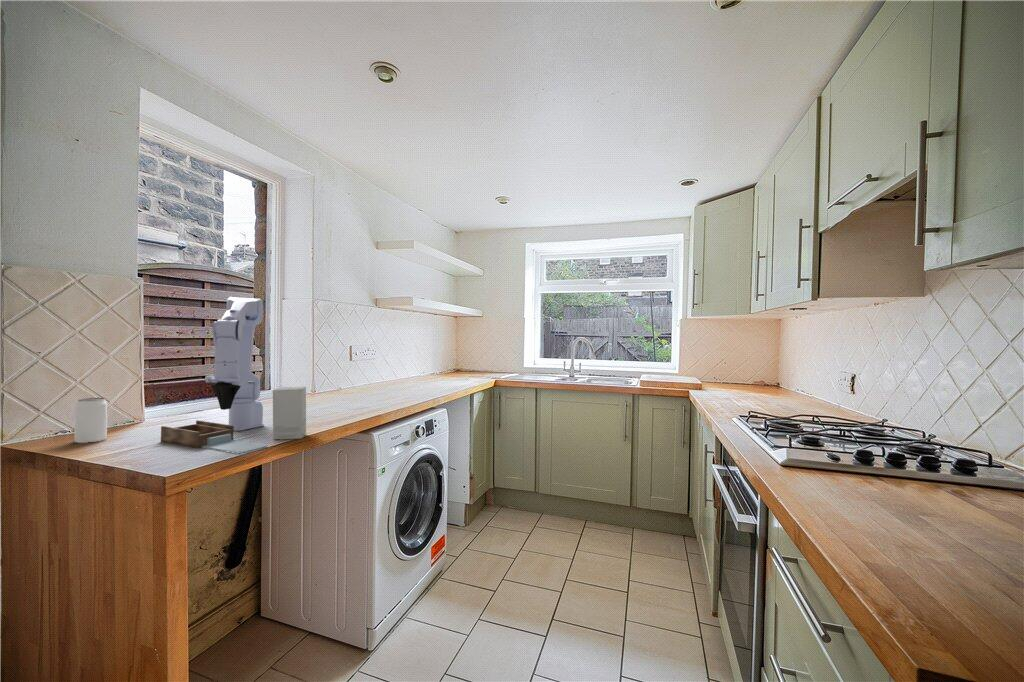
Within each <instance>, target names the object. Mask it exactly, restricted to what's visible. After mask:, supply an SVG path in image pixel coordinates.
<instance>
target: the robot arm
mask: <svg viewBox="0 0 1024 682" xmlns="http://www.w3.org/2000/svg"><path fill="white" fill-rule="evenodd" d="M225 308H226V311H225V312H224V314H223V316H221V318H220V319H217V321H214V322H213V324H212V328H211V329H212V339H213V346H214V370H213V371H214V373H213V374H210V375H206V376H205V383H214V384H213V385H211V389H212V391H213V392H214V393H215V396H216V398H217V401H218V404H219V408H220V410H222V411H224V410H228V425H233V426H234V431H235V432H239V431H245V430H248V429H249V430H250V429H255V428H259V427H264V426H265V424H264V423H263V420H264V419H263V417H264V407H263V404H262V402H261V401H260V400H258V399H259V398H260V397H261V379H260V377H259V376H258V375H256V374H255V373H253V372H252V366H253V365H252V364H253V351H254V350H253V349H254V338H255V337H254V336H255V334H254V333H255V329H256V327H257V326H258V325H260V324H262V321H263V314H264V313H263V312H264V303H263V300H262V298H259V297H258V298H250V297H233V296H229V297H228V298H227V300H226V307H225ZM215 383H216V384H215Z"/></svg>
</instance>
